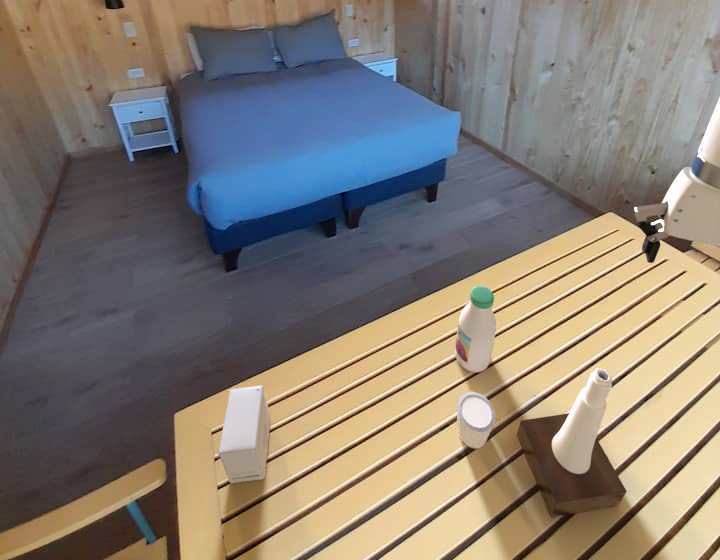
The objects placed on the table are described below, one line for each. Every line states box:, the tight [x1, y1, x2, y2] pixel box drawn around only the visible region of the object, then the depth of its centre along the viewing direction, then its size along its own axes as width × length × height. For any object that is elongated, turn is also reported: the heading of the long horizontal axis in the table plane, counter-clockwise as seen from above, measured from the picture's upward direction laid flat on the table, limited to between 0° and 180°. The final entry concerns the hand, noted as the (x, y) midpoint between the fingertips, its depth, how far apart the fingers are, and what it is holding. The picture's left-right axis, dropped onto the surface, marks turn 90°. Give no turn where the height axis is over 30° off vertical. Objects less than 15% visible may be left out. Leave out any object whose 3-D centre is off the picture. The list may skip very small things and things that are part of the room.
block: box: [516, 412, 627, 518], centre depth 70 cm, size 12×12×5 cm
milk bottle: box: [454, 285, 497, 373], centre depth 85 cm, size 8×8×20 cm
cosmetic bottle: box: [552, 367, 613, 474], centre depth 64 cm, size 6×6×22 cm
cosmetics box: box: [218, 384, 271, 484], centre depth 72 cm, size 10×6×10 cm, turn 5°
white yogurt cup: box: [456, 391, 496, 450], centre depth 75 cm, size 7×7×7 cm
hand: (685, 265), depth 61 cm, fingers open, 9 cm apart
